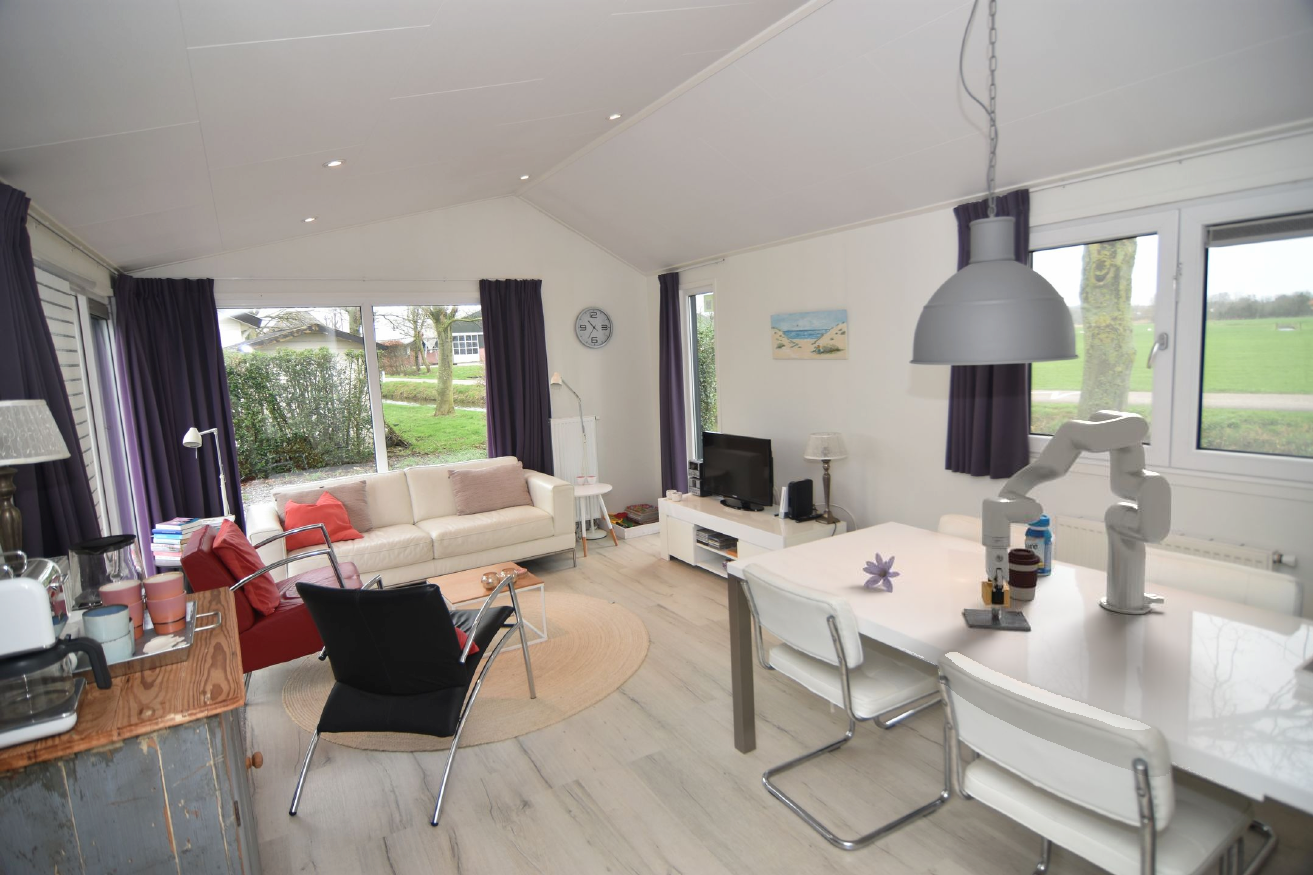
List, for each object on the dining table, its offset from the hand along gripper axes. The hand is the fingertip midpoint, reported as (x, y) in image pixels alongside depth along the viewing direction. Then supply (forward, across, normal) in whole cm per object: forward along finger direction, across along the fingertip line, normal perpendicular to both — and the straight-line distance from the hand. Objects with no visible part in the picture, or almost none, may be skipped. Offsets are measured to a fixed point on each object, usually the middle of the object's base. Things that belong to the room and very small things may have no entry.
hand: (995, 599), depth 206 cm
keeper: (+7, 0, 0) cm, 7 cm away
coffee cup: (+7, +21, -11) cm, 25 cm away
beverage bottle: (+7, +46, -21) cm, 51 cm away
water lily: (+7, +26, +32) cm, 42 cm away
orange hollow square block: (+1, 0, 0) cm, 1 cm away
